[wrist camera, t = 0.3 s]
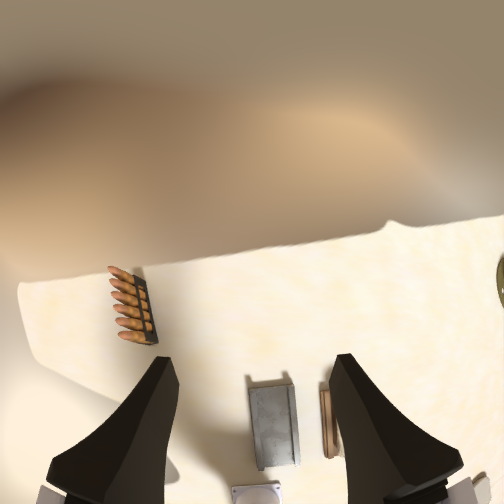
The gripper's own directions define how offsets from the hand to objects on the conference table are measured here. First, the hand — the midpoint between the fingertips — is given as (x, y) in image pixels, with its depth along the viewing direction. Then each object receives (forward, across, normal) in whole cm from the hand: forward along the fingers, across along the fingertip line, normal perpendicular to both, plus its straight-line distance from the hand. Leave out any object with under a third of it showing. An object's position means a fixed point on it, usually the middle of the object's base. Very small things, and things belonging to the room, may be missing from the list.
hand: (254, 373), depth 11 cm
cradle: (+12, -3, +31) cm, 33 cm away
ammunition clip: (+26, +17, +18) cm, 36 cm away
